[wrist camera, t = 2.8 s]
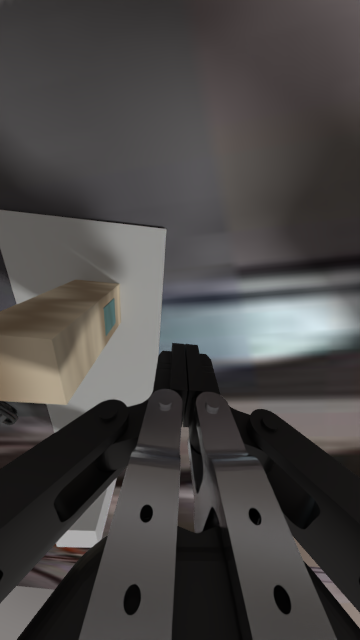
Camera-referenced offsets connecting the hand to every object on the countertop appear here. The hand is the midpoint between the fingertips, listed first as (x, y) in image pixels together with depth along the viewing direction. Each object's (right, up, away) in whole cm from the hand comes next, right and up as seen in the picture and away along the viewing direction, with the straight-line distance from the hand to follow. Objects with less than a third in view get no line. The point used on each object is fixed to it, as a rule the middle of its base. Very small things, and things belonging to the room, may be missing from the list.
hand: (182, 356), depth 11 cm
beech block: (-8, +4, +7) cm, 11 cm away
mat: (-10, -5, +11) cm, 16 cm away
